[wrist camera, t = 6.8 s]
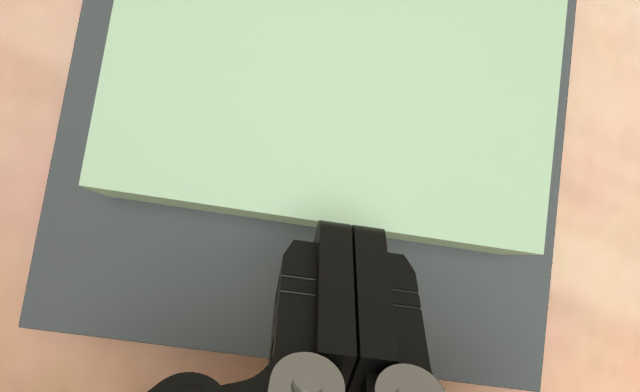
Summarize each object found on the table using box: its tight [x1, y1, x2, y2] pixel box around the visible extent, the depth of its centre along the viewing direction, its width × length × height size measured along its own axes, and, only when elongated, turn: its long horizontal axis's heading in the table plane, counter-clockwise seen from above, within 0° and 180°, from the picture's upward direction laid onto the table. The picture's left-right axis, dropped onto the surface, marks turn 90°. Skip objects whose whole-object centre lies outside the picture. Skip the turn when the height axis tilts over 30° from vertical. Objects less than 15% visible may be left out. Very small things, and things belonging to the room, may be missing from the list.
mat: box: [19, 0, 577, 392], centre depth 21 cm, size 18×16×1 cm
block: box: [79, 0, 568, 255], centre depth 19 cm, size 14×3×9 cm
